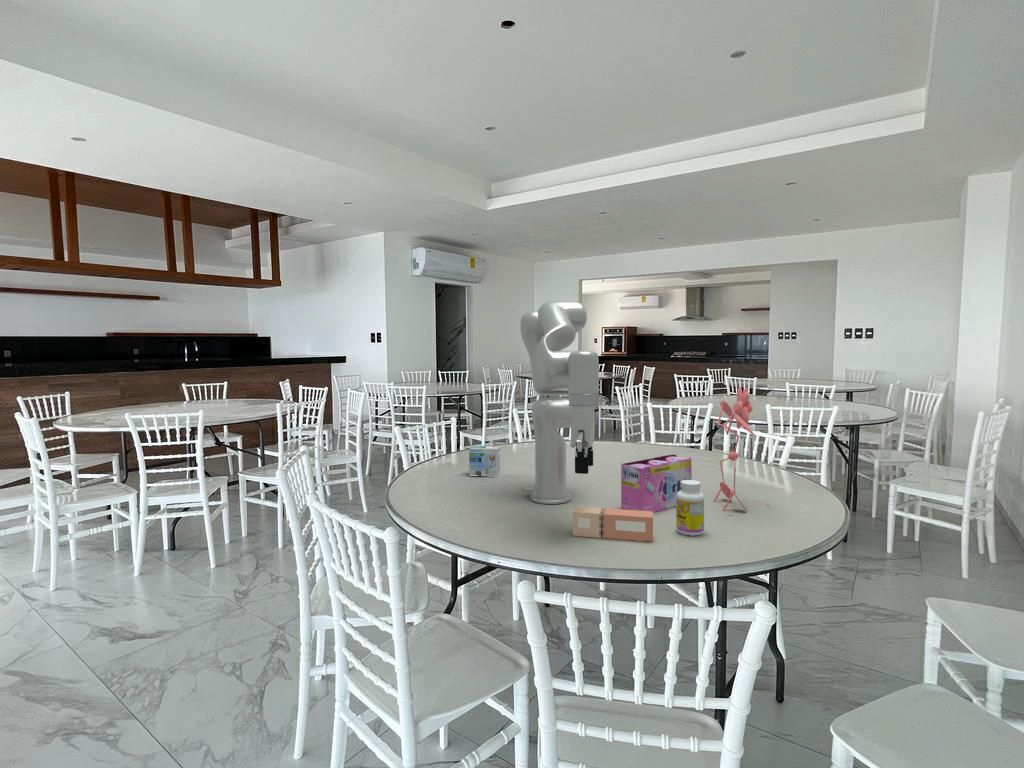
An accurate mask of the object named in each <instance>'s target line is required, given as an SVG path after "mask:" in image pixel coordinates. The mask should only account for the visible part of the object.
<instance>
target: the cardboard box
mask: <svg viewBox="0 0 1024 768" xmlns="http://www.w3.org/2000/svg"><path fill="white" fill-rule="evenodd" d="M601 539H608V540H619V539H620V540H619V541H631V540H635V541H634V542H644V541H649V542H648V543H653V542H654V541H653V539H654V512H653V511H638V510H622V509H621V508H620V509H618V508H605V507H604V508H603V513H602V536H601ZM650 541H651V542H650Z"/></svg>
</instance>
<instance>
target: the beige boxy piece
mask: <svg viewBox="0 0 1024 768" xmlns="http://www.w3.org/2000/svg"><path fill="white" fill-rule="evenodd" d="M603 510H604V508H603V507H591V506H577V505H576V506H574V508H573V510H572V536H573V537H583V538H585V537H587V538H598V539H602V513H603Z"/></svg>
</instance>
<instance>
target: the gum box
mask: <svg viewBox="0 0 1024 768" xmlns="http://www.w3.org/2000/svg"><path fill="white" fill-rule="evenodd" d="M620 466H621V467H620V470H621V471H620V472H621V473H620V474H621V475H620V477H621V479H620V481H621V482H620V484H621V485H620V486H621V487H620V488H621V492H620V493H621V494H620V500H621V501H620V503H621V504H620V509H622V510H638V511H653V513H657V512H661V511H664V509H665V510H668V509H670V508H671V507H672V508H675V507H677V493H678V492H679V491H680V490H682V488H681V481H683V480H693V478H692V477H693V476H692V474H693V473H692V472H693V471H692V457H688V458H686V457H685V458H684V457H680V456H678V455H676V454H666V455H660V456H655V457H651V458H647V459H639V460H635V461H634V460H633V461H629V462H625V463H621V465H620ZM674 506H675V507H674ZM667 508H668V509H667ZM660 510H661V511H660ZM656 511H657V512H656Z"/></svg>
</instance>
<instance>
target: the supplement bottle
mask: <svg viewBox="0 0 1024 768" xmlns="http://www.w3.org/2000/svg"><path fill="white" fill-rule="evenodd" d="M681 488H682V490H680V491H679V492H678V493H677V506H676V520H675V521H676V524H675V525H676V528H675V529H676V531H677V532H678V533H679V534H681V535H684V536H688V535H690V537H694V536H696V535H697V536H701V535H703V534H704V533H705V494H704V493H703V492H702V491H700V489H701V482H700V481H698V480H695V479H692V480H683V481H681ZM697 536H696V537H697Z"/></svg>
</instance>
